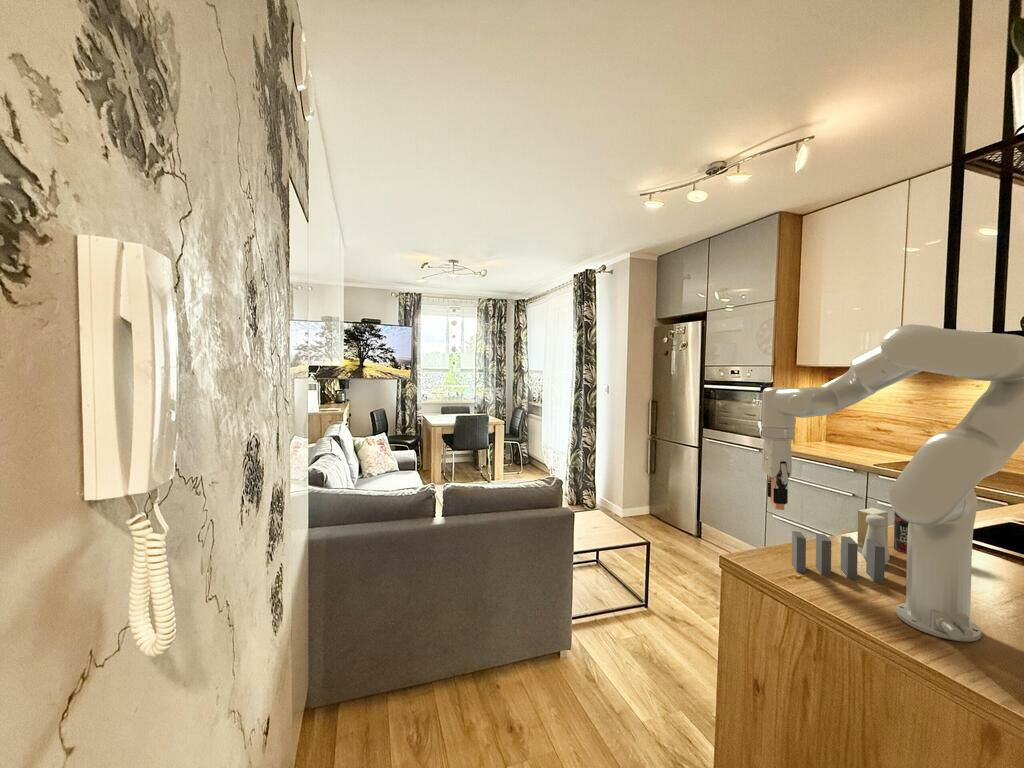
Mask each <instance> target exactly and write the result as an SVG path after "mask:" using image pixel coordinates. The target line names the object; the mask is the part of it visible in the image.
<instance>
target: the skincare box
mask: <svg viewBox="0 0 1024 768" xmlns="http://www.w3.org/2000/svg"><path fill="white" fill-rule="evenodd" d="M870 514H873V515H879V516H882V517H884V518H885V519H886V521H887V523H886V526H884V531H885V536H886V541H887V546H889V545H888V544H889V543H888V542H889V531H888V530H889V528H888V527H889V520H888V519H889V512H888V511H886V510H883V509H878V508H875V507H867V508H862V509H857V544H858V552H859V553H861V554H862V550H863V546H864V542H865V538H866V533H867V529H868V525H869V524H868V523H866V516H867V515H870Z"/></svg>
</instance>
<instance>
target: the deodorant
mask: <svg viewBox="0 0 1024 768" xmlns="http://www.w3.org/2000/svg"><path fill="white" fill-rule="evenodd" d="M893 512H894V514H893V516H894V518H893V519H894V523H893V525H894V526H893V550H895V551H897V552H898V553H902V554H906V555H907V535H908V524H909V522H907V521H905V520H903V519H902V518H901V517H899V516H898V515H897V514H896V512H895V511H893Z"/></svg>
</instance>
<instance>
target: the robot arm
mask: <svg viewBox="0 0 1024 768" xmlns="http://www.w3.org/2000/svg"><path fill="white" fill-rule="evenodd" d="M849 366H850V367H849V369H848V370H847V371H846V372H845V373H844V374H842V375H840V376H838V377H837V378H835V379H833V380H831V381H829V382H827V383H825V384H823V385H819V386H810V387H808V386H807V387H796V388H791V387H787V386H786V387H781V386H780V387H779V386H778V387H777V386H776V387H775V386H774V387H773V386H771V387H766V388H764V389H763V391H762V396H761V438H762V439H763V444H762V445H763V446H762V457H761V458H762V459H761V460H762V461H761V468H762V471H763V472H764V473H765V474H766V475H767V490H766V491H767V493H766V494H767V497H768V498H771V477H773V476H774V481H775V488H773V502H774V503H777V504H784V505H788V501H789V500H788V498H789V496H788V494H789V491H788V490H789V485H788V484H789V483H788V482H789V479H790V478H792V477H791V476H792V471H793V468H792V466H793V462H792V461H793V458H792V456H793V455H792V443H791V441H795V432H796V430H795V424H796V423H795V419H796V418H803V419H804V418H805V419H806V418H815V417H822V416H825V417H826V416H828V415H832V414H835V413H836V412H839V411H841V410H844V409H847V408H848V407H851V406H854V405H855V404H857V403H859V402H862V401H863V400H865V399H867V398H869V397H870V396H872V395H874V394H876V393H877V392H880V390H883V389H885V388H887V387H889V386H891V385H894V384H896V383H898V382H900V381H902V380H905V379H907V378H910V377H912V376H914V375H916V374H919V373H921V372H927V373H933V374H939V375H945V376H951V377H957V378H960V379H961V378H962V379H967V380H974V381H983V382H990V383H989V386H988V388H987V389H986V390H985V392H983V393H982V394H981V395H980V397H979V398H978V399H977V400H976V401H975V402H974V404H973V405H972V406H971V408H970V409H969V411H968V412H967V413H966V415H965V416H964V417H963V418H962V419H961V421H960V422H959V423H958V424H957V425H956V426H955V427H954V428H952V429H948V430H944V431H941V432H939V433H936V434H934V435H932V436H931V437H930V438H928V439H927V440H926V441H925V442H924V443H922V445H921V446H920V447H919V449H918V450H917V452H916V453H915V454H914V455H913V457H912V458H911V459H910V461H909V462H908V463H907V465H906V466H905V467H904V469H903V470H902V472H900V474H899V476H898V477H897V478H896V480H895V481H894V482H893V484H892V486H891V488H890V490H889V503H890V506H891V508H892V509H893V512H896V514H897V515H898V516H899V517H901V518H902V519H903V520H905V521H907V522H909V524H908V535H907V554H906V577H905V578H906V580H905V581H906V583H905V586H906V588H905V589H906V591H905V602H902V603H899V604H897V605H896V608H895V613H896V615H897V617H898V618H899V619H900V620H901V621H902V622H904V623H905V624H906V625H909V626H911V628H914V629H916V630H918V631H921V632H924V633H925V634H929V635H931V636H934V637H938V638H942V639H945V640H949V641H956V642H966V643H967V642H975V641H976V642H977V641H978V640H980V639H981V637H982V629H981V628H980V627H979V625H978V624H977V623H975V622H974V621H973V620H971V600H972V599H971V598H972V597H971V596H972V560H973V558H972V557H973V537H974V528H975V527H974V526H975V521H976V515H977V510H978V497H977V494H976V491H975V488H976V486H977V485H978V484H979V483H980V482H981V481H982V480H983V479H984V478H987V477H989V476H992V475H995V474H997V473H998V472H1000V471H1002V469H1003V468H1004V467H1005V466H1006V464H1007V463H1008V462H1009V460H1010V459H1011V457H1013V455H1014V453H1015V452H1016V451H1017V450H1018V449H1019V447H1020V446H1021V445H1022V444H1023V443H1024V336H1021V335H1018V334H1011V333H1009V334H1008V333H995V332H983V331H970V330H961V329H951V328H941V327H937V326H932V325H925V324H924V325H923V324H905V325H900V326H898V327H895V328H893V329H892V330H890V331H889V332H888V333H887V334H886V335H885V336H884V337H883V339H882V340H881V342H880V345H878V346H876V347H874V348H872V349H869V351H866V352H865V353H862V354H861V355H859V356H857V357H855V358H854V359H852V360H851V362H850V365H849ZM777 474H781V477H779V476H777ZM778 479H781V480H779V481H778Z"/></svg>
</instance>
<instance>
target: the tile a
mask: <svg viewBox="0 0 1024 768" xmlns="http://www.w3.org/2000/svg"><path fill="white" fill-rule="evenodd" d="M806 557H807V538H806V536H805V535H804V534H803V532H802V531H795V530H794V531H793V530H792V531H791V565H792V566H793V569H794V570H795V572H796V573H802V574H806V570H807V569H806V568H807V567H806V565H807V560H806V559H807V558H806Z"/></svg>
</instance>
